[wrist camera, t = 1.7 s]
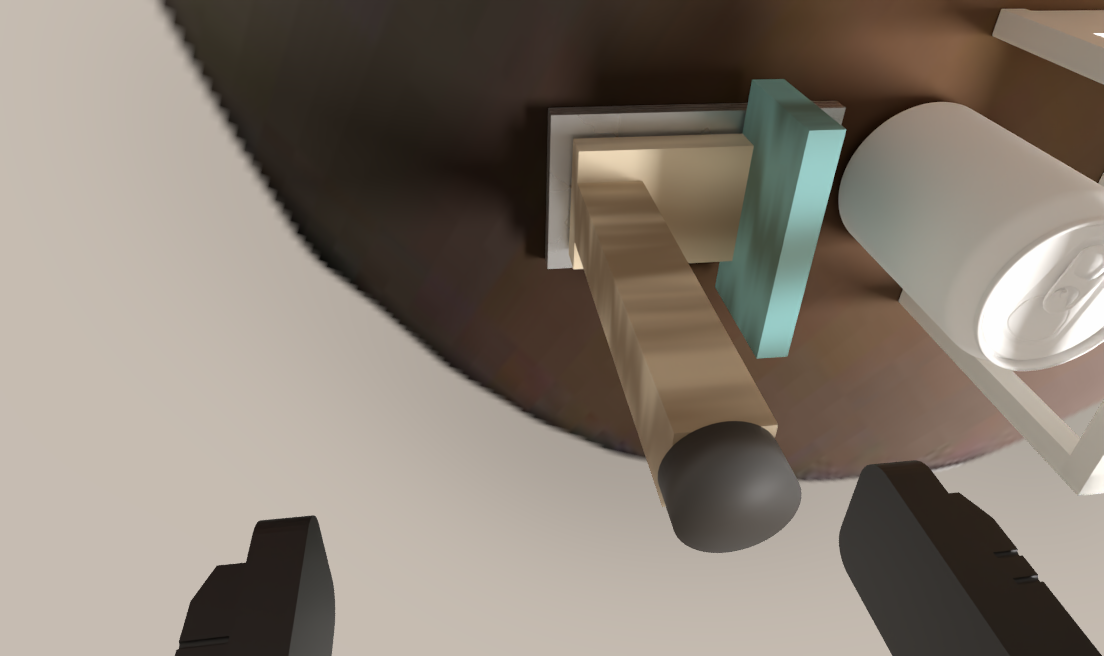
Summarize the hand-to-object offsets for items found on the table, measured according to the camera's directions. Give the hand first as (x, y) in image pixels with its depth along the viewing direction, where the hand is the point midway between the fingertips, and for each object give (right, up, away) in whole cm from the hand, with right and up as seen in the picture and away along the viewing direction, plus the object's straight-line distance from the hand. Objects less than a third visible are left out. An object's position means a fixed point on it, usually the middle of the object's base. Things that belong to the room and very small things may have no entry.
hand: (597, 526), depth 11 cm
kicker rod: (+5, +9, +25) cm, 27 cm away
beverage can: (+18, +11, +28) cm, 35 cm away
